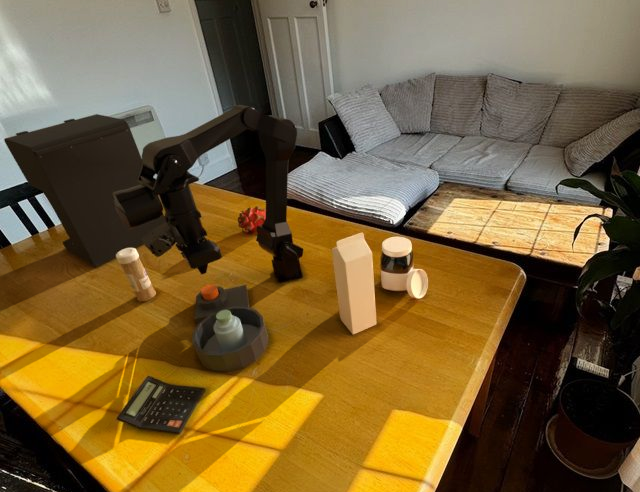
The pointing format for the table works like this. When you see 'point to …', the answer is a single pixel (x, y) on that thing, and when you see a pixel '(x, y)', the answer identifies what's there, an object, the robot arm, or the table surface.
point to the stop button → (209, 292)
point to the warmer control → (221, 301)
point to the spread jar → (401, 268)
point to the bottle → (229, 331)
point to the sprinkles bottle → (136, 274)
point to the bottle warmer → (235, 358)
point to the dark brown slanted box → (85, 181)
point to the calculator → (161, 406)
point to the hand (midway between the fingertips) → (203, 273)
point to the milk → (354, 283)
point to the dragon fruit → (251, 219)
